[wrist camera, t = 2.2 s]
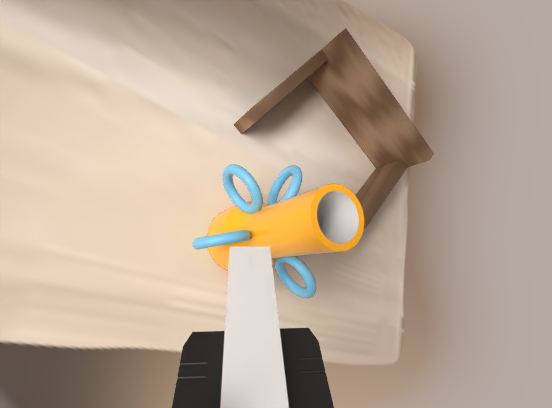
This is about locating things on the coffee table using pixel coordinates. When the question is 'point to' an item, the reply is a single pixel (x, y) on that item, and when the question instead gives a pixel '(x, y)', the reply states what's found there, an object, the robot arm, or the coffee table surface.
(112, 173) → the coffee table surface
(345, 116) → the pocket
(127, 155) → the coffee table surface
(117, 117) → the coffee table surface
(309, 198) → the cylinder
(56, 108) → the coffee table surface
